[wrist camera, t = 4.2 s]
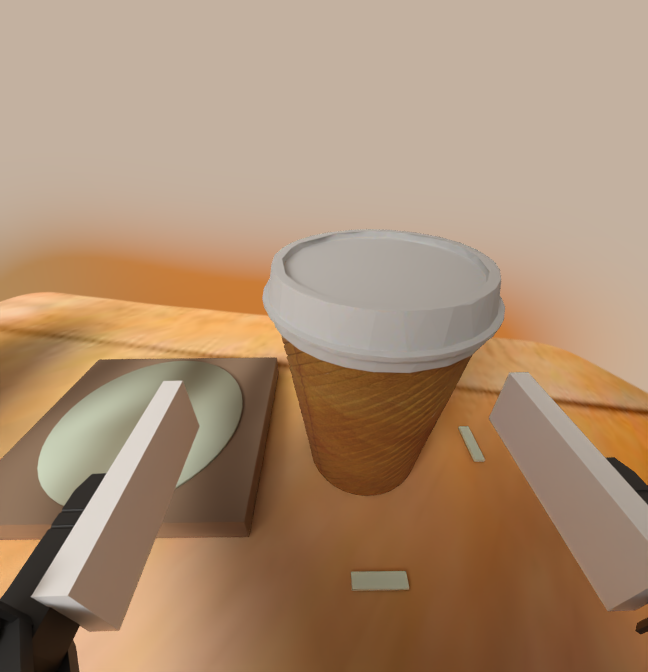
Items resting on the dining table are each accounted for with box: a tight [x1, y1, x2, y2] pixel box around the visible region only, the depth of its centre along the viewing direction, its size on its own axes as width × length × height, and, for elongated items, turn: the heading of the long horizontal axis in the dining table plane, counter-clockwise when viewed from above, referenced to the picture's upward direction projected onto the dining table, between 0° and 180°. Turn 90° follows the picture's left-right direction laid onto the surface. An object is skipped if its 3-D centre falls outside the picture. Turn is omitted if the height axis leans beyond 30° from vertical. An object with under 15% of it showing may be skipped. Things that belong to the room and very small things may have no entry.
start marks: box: [351, 426, 485, 591], centre depth 18 cm, size 14×14×1 cm
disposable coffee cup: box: [263, 229, 505, 496], centre depth 15 cm, size 10×10×12 cm
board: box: [0, 358, 278, 540], centre depth 19 cm, size 14×12×2 cm
